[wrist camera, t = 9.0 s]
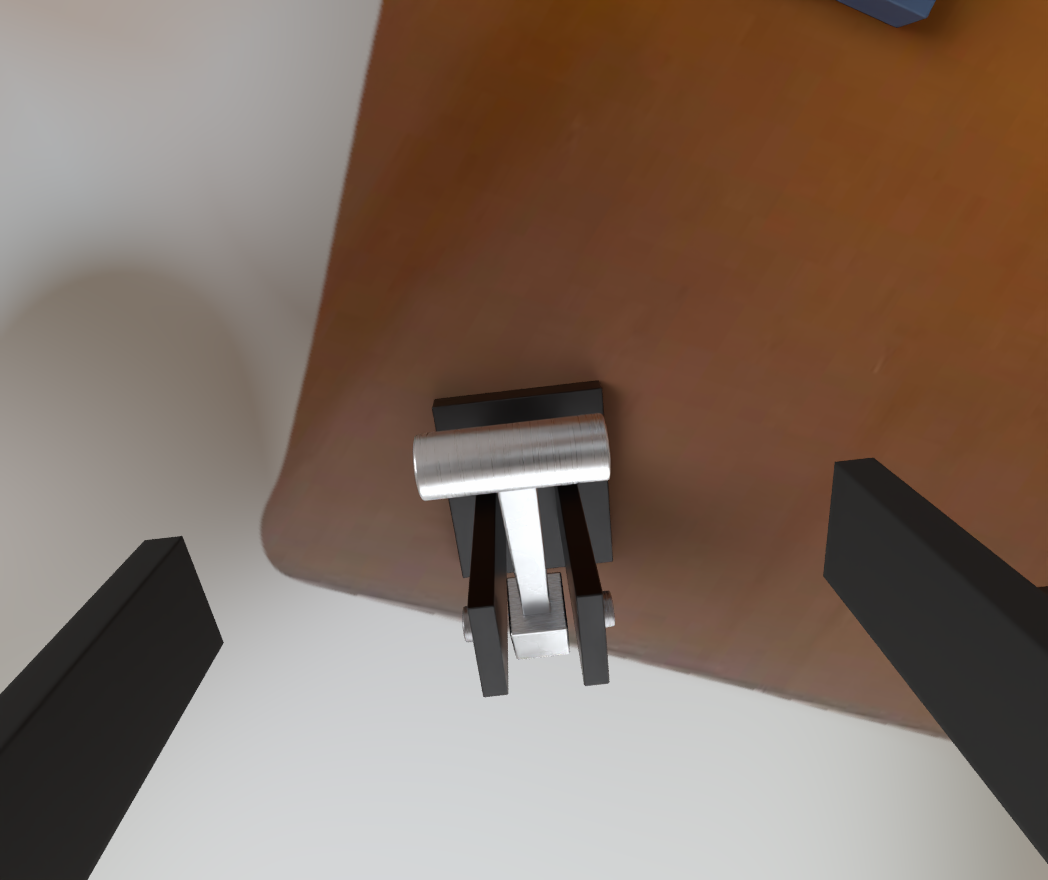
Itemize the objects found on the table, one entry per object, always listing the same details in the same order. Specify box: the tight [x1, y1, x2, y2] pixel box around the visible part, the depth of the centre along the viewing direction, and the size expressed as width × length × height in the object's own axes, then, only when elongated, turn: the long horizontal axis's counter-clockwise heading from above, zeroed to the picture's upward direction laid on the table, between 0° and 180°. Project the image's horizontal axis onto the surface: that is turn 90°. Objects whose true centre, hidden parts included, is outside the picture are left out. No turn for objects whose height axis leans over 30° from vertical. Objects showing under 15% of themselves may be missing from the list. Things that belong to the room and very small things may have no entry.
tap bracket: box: [432, 381, 615, 697], centre depth 30 cm, size 11×9×14 cm
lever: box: [413, 413, 611, 659], centre depth 21 cm, size 13×5×2 cm
